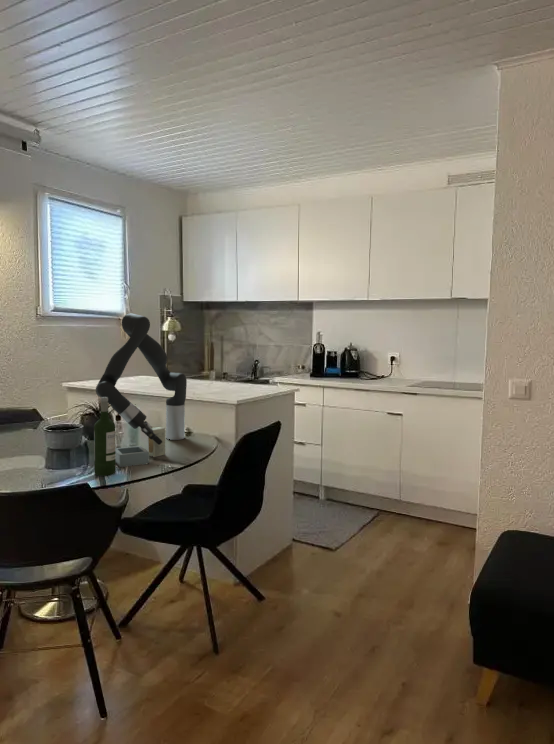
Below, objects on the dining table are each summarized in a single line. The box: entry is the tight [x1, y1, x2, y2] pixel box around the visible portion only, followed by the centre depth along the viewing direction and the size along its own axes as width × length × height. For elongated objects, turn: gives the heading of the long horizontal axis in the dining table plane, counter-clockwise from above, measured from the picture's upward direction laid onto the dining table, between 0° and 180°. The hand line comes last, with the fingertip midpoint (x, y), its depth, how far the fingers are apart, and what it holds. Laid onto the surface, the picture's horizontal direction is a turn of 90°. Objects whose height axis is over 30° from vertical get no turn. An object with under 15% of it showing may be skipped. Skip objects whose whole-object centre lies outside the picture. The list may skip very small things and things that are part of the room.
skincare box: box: [147, 426, 166, 458], centre depth 239 cm, size 6×4×12 cm
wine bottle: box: [93, 397, 117, 477], centre depth 209 cm, size 8×8×30 cm
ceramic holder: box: [115, 445, 150, 468], centre depth 227 cm, size 12×12×5 cm
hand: (160, 441), depth 239 cm, fingers closed on skincare box, 6 cm apart
